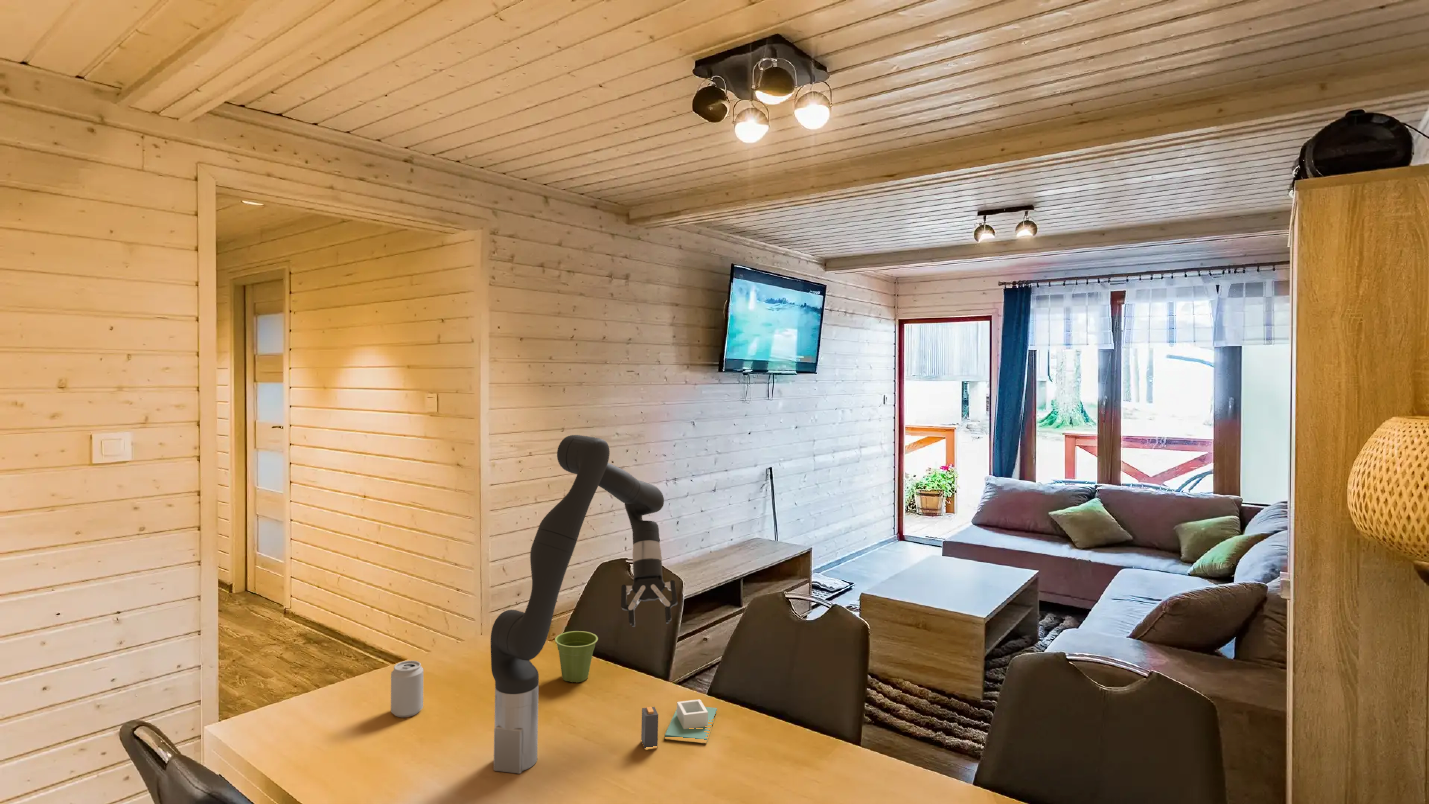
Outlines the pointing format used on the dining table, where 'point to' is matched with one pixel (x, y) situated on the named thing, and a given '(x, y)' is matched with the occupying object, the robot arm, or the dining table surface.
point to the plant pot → (575, 654)
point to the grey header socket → (692, 714)
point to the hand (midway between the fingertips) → (650, 624)
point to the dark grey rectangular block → (649, 727)
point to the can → (407, 689)
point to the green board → (678, 731)
